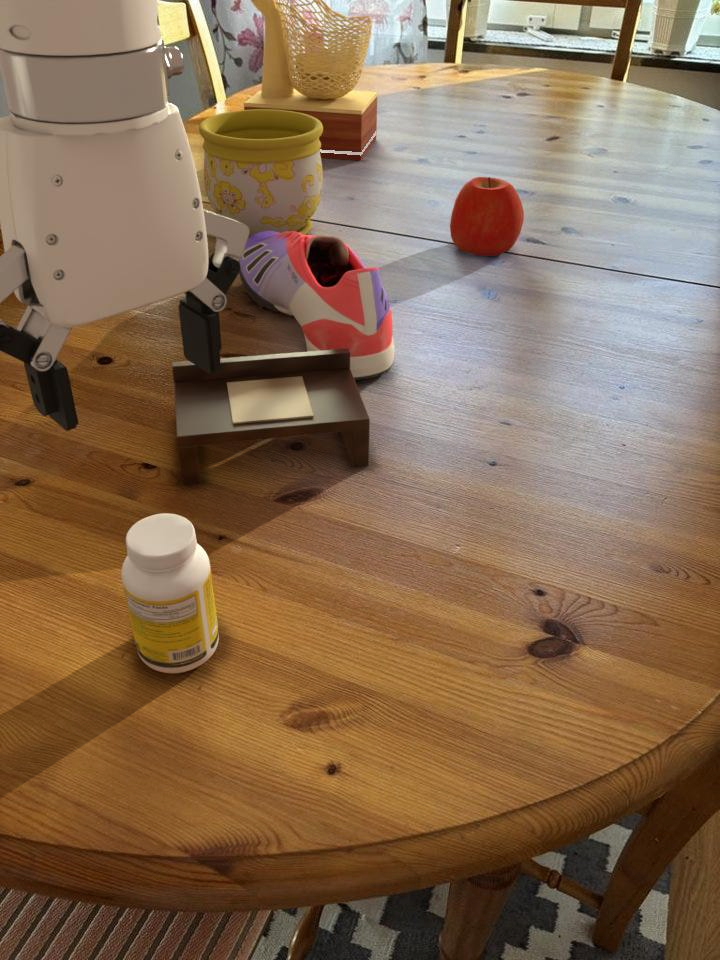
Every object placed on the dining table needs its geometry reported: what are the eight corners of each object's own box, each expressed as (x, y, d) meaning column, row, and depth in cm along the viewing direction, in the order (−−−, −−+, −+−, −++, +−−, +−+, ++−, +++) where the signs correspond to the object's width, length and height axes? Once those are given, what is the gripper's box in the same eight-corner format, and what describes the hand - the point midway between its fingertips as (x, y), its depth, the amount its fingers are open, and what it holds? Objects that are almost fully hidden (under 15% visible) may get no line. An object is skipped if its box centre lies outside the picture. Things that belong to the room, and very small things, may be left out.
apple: (527, 242, 134) (536, 172, 128) (506, 266, 126) (515, 193, 120) (461, 230, 137) (467, 162, 131) (437, 253, 129) (442, 182, 123)
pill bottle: (174, 605, 69) (156, 495, 62) (235, 635, 66) (224, 524, 60) (119, 655, 64) (94, 543, 58) (183, 689, 62) (164, 576, 55)
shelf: (182, 485, 82) (174, 420, 77) (179, 423, 90) (171, 361, 86) (368, 466, 85) (370, 402, 80) (348, 408, 93) (348, 348, 89)
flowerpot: (187, 245, 130) (176, 132, 121) (238, 208, 144) (231, 104, 134) (298, 262, 126) (295, 146, 116) (339, 222, 140) (340, 115, 130)
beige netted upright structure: (237, 151, 171) (224, -56, 150) (263, 128, 185) (254, -64, 164) (360, 161, 167) (363, -50, 146) (377, 137, 181) (383, -59, 160)
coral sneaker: (307, 263, 126) (306, 170, 118) (420, 377, 99) (427, 267, 91) (225, 275, 122) (218, 180, 114) (320, 398, 95) (318, 284, 87)
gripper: (193, 52, 49) (218, 328, 59) (-128, 96, 39) (-33, 416, 49) (276, 74, 44) (287, 368, 54) (-64, 130, 35) (26, 474, 45)
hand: (135, 391), depth 52 cm, fingers open, 9 cm apart
